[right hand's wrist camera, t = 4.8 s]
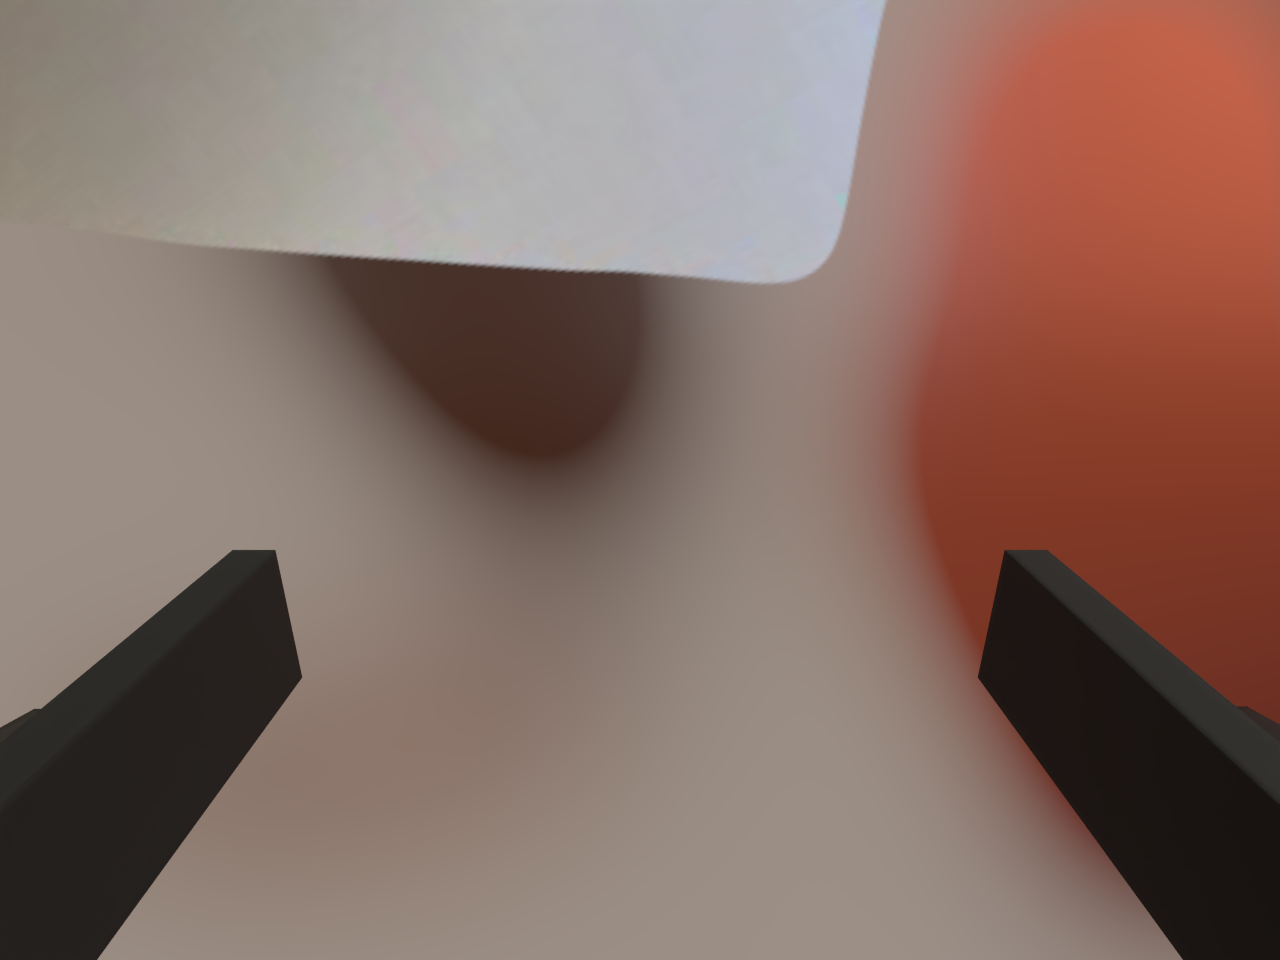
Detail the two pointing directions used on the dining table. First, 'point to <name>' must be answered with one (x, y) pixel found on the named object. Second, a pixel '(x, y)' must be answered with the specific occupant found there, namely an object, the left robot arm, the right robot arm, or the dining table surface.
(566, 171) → the dining table surface
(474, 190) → the dining table surface
